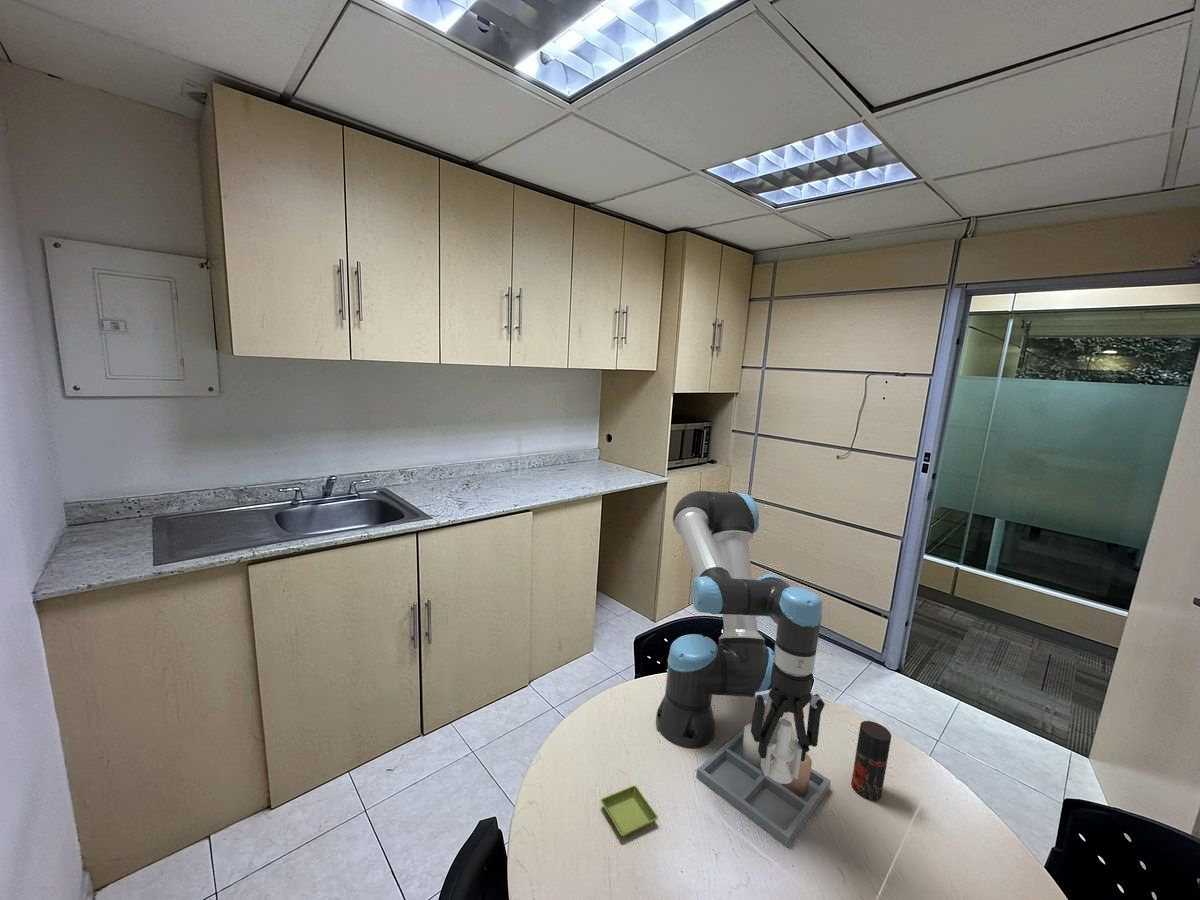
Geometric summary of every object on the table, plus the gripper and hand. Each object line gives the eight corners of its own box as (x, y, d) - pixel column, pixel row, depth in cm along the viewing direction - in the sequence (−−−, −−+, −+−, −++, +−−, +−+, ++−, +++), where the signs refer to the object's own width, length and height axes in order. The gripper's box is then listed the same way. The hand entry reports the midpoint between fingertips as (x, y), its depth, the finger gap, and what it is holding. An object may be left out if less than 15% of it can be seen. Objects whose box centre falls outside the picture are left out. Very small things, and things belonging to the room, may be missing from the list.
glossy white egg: (736, 757, 112) (740, 730, 111) (748, 746, 116) (751, 720, 115) (758, 771, 108) (761, 744, 107) (769, 759, 112) (773, 733, 111)
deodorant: (885, 805, 102) (896, 742, 100) (855, 799, 103) (865, 737, 101) (875, 783, 107) (885, 723, 106) (847, 777, 109) (856, 718, 107)
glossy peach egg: (776, 784, 105) (780, 756, 104) (787, 771, 109) (791, 744, 108) (801, 801, 101) (805, 771, 100) (811, 787, 105) (816, 759, 104)
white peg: (761, 762, 99) (768, 710, 98) (786, 764, 99) (793, 712, 98) (770, 783, 94) (777, 728, 92) (797, 785, 94) (804, 730, 92)
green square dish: (620, 845, 89) (621, 835, 89) (598, 808, 97) (599, 799, 96) (658, 827, 93) (659, 818, 93) (634, 793, 101) (635, 784, 101)
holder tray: (696, 779, 105) (697, 769, 105) (743, 735, 120) (745, 727, 119) (786, 849, 90) (788, 838, 90) (829, 790, 105) (830, 780, 104)
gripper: (752, 674, 90) (739, 783, 93) (848, 682, 90) (832, 791, 93) (741, 652, 97) (729, 754, 100) (830, 659, 97) (815, 761, 100)
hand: (779, 771), depth 96 cm, fingers closed on white peg, 5 cm apart
